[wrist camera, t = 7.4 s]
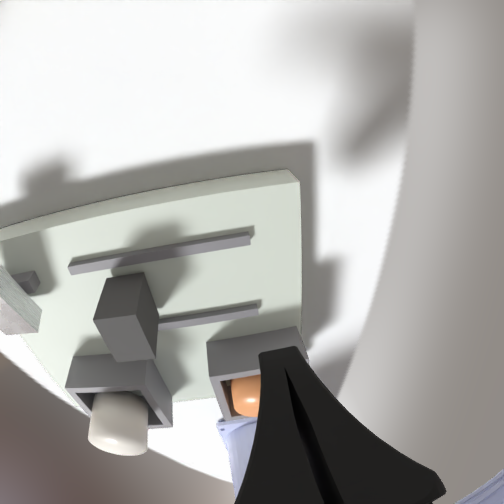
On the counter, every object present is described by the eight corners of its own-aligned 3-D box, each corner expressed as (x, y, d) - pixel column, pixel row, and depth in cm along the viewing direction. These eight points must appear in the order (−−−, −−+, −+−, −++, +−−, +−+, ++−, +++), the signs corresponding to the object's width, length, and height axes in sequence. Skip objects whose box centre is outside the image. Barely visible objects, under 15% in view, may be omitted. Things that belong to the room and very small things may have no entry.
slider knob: (159, 314, 16) (155, 358, 13) (124, 319, 16) (116, 362, 13) (144, 271, 14) (135, 314, 12) (106, 277, 14) (92, 320, 12)
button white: (155, 416, 18) (155, 455, 16) (108, 417, 18) (104, 455, 15) (136, 387, 16) (133, 431, 14) (84, 389, 16) (77, 430, 13)
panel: (293, 361, 23) (309, 410, 19) (79, 387, 22) (71, 433, 18) (287, 168, 15) (320, 205, 11) (-13, 232, 14) (-51, 276, 10)
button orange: (284, 374, 20) (294, 410, 18) (232, 384, 20) (238, 420, 18) (282, 340, 19) (295, 379, 16) (223, 351, 18) (229, 392, 16)
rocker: (42, 310, 14) (38, 332, 13) (10, 313, 14) (6, 334, 13) (1, 264, 11) (-7, 289, 10) (-30, 272, 11) (-38, 295, 10)
